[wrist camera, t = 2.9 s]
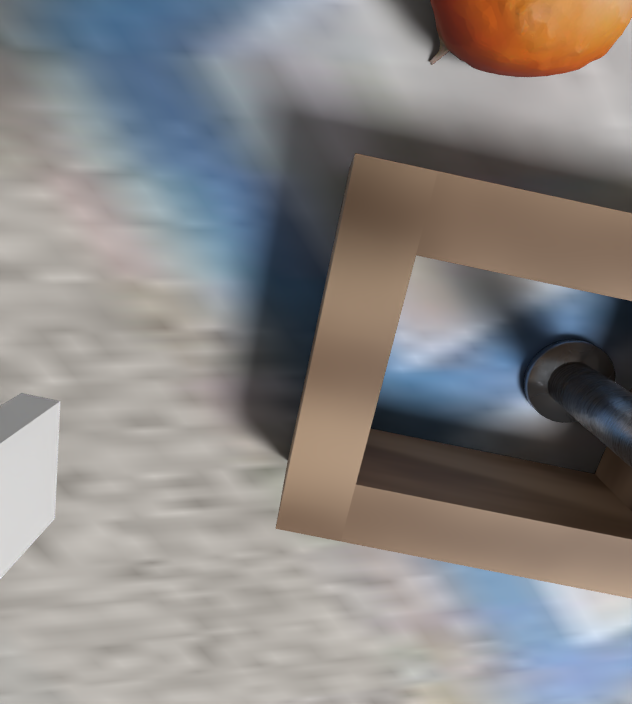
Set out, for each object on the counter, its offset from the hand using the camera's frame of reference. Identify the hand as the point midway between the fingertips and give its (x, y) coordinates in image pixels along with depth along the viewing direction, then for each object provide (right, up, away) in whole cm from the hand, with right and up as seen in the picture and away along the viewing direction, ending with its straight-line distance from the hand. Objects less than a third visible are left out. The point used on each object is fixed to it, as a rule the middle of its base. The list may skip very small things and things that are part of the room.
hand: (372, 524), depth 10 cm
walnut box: (+9, +3, +16) cm, 18 cm away
